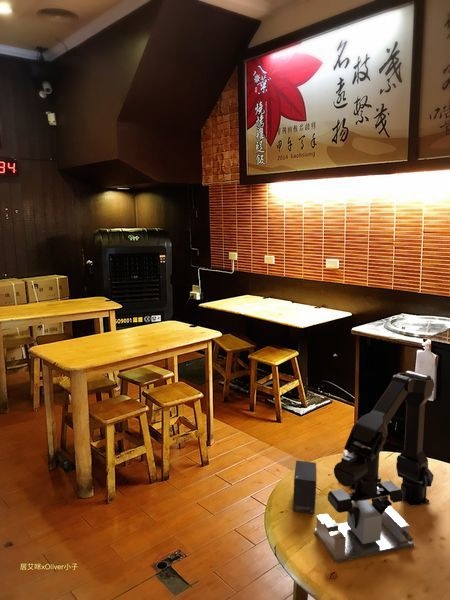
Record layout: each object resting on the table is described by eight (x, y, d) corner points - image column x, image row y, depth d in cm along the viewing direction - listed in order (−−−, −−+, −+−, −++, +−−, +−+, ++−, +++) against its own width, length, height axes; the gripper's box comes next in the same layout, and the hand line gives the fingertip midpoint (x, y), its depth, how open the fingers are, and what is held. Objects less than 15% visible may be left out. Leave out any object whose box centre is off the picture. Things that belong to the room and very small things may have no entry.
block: (363, 521, 129) (364, 497, 128) (380, 540, 121) (381, 515, 120) (347, 524, 128) (348, 500, 126) (363, 544, 120) (364, 519, 119)
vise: (386, 518, 133) (388, 497, 132) (414, 546, 122) (415, 524, 120) (314, 531, 127) (315, 510, 126) (335, 563, 116) (336, 540, 115)
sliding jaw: (381, 512, 134) (381, 497, 133) (414, 546, 120) (415, 531, 119) (373, 513, 133) (373, 499, 132) (405, 548, 119) (406, 533, 118)
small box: (315, 514, 135) (316, 480, 133) (292, 512, 136) (293, 478, 134) (316, 493, 145) (317, 461, 143) (294, 491, 146) (295, 459, 144)
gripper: (380, 450, 131) (378, 501, 134) (318, 460, 126) (317, 513, 129) (406, 471, 120) (402, 526, 123) (339, 482, 116) (337, 539, 119)
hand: (363, 525), depth 124 cm, fingers closed on block, 5 cm apart
